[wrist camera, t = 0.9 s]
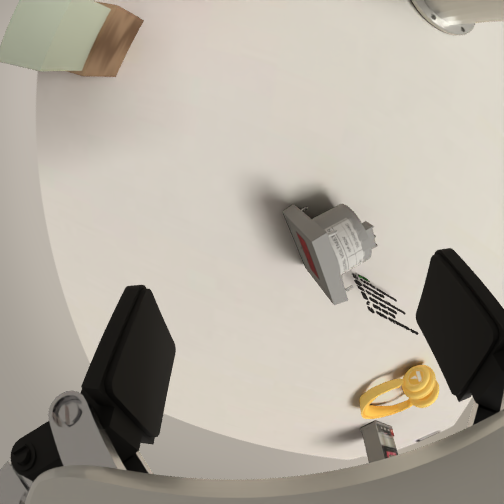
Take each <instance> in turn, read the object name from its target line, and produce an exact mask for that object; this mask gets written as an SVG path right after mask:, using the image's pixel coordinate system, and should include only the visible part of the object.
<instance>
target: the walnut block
mask: <svg viewBox="0 0 504 504" xmlns="http://www.w3.org/2000/svg"><path fill="white" fill-rule="evenodd" d="M97 3H99V4H101V5H104V6H106V7H108V8H110V9H111V10H110V12H109V14H108V16H107V18H106V20H105V22H104V23H103V25H102V27H101V29H100V31H99V33H98V35H97V37H96V39H95V42H94V44H93V46H92V48H91V50H90V53H89V55H88V57H87V59H86V62H85V64H84V67H83V69H82V71H67V72H71V73H74V74H78V75H81V76H105V77H116V75H117V73H118V70H119V68H120V66H121V64H122V62H123V60H124V58H125V55H126V53H127V51H128V49H129V47H130V45H131V43H132V41H133V40H134V38H135V36H136V34H137V32H138V30H139V28H140V27H141V25H142V23H143V21H144V20H142V19H140V18H139V17H137V16H135V15H134V14H132V13H130V12H128V11H127V10H125V9H123V8H121V7H119V6H117V5H112V4H107V3H101V2H97Z"/></svg>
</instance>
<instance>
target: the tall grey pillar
mask: <svg viewBox="0 0 504 504" xmlns="http://www.w3.org/2000/svg"><path fill="white" fill-rule="evenodd" d="M361 431H362V434H363V439H364V443H365V447H366V452H367V456H368V461H369V463H371V462H375V461H379V460H382V459H386V458H389V457H393V456H396V455H398V453H397V449H396V446H395V442H394V439H393V436H394V433H393V430H392V427H391V426H388V425H386V424H383V423H380V422H378V421H374V422H373V423H370V424H368V425H366V426H364V427H361Z"/></svg>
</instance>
